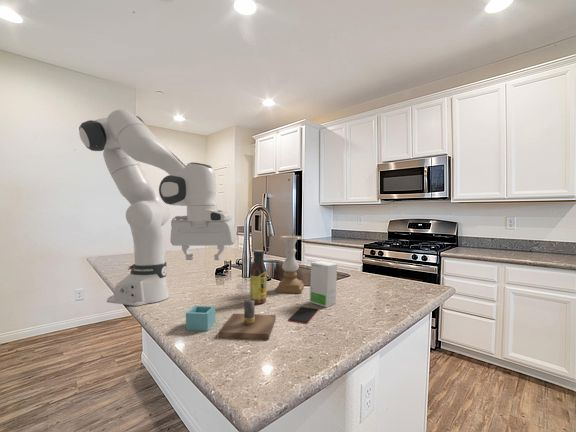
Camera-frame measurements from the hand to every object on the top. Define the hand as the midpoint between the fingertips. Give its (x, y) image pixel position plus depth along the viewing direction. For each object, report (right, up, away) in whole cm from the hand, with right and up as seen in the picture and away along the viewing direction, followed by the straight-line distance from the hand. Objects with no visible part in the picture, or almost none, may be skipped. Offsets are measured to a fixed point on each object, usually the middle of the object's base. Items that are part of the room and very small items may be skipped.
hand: (203, 259), depth 87 cm
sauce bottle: (+15, -20, +22) cm, 33 cm away
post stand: (+15, -20, -3) cm, 25 cm away
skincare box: (+40, -20, +20) cm, 49 cm away
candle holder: (+27, -20, +39) cm, 51 cm away
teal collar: (0, -20, -1) cm, 20 cm away
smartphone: (+32, -21, +8) cm, 38 cm away
